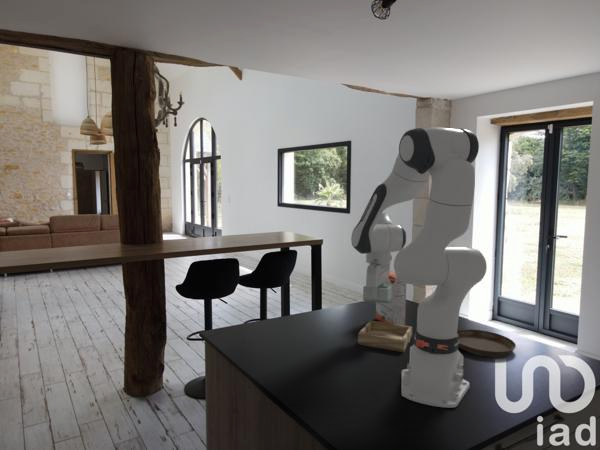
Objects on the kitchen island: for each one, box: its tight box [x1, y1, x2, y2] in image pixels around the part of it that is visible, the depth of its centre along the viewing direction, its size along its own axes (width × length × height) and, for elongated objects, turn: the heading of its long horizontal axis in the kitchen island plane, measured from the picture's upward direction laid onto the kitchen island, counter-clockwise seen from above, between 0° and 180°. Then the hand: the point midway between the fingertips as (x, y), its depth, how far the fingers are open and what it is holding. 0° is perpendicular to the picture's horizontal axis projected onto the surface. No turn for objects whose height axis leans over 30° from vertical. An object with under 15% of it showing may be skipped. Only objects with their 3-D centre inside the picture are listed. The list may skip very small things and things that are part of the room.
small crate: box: [362, 285, 392, 303], centre depth 153 cm, size 6×9×5 cm, turn 66°
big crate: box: [357, 320, 413, 353], centre depth 152 cm, size 16×16×4 cm
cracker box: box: [375, 270, 407, 326], centre depth 170 cm, size 14×6×21 cm, turn 19°
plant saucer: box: [457, 328, 517, 358], centre depth 147 cm, size 21×21×3 cm
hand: (377, 295), depth 153 cm, fingers closed on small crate, 6 cm apart
